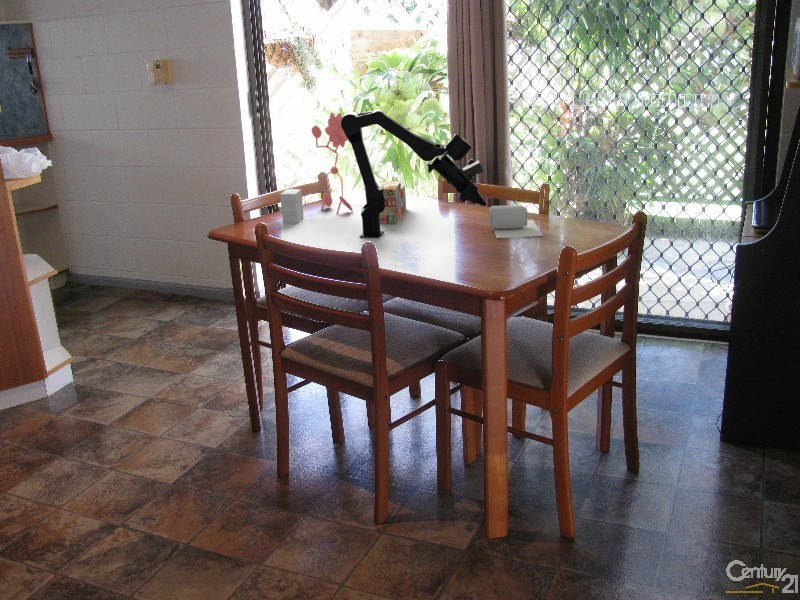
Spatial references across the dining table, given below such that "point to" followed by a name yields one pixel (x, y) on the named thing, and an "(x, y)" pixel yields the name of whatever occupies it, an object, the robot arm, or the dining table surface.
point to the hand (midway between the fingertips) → (485, 204)
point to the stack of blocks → (393, 202)
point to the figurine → (337, 138)
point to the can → (507, 217)
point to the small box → (291, 205)
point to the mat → (519, 231)
